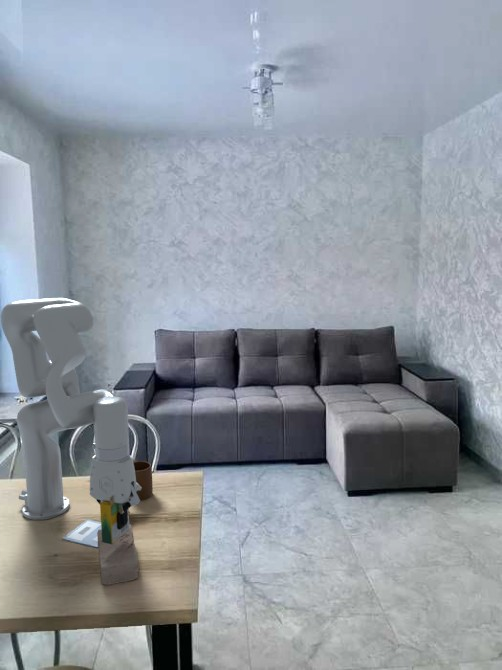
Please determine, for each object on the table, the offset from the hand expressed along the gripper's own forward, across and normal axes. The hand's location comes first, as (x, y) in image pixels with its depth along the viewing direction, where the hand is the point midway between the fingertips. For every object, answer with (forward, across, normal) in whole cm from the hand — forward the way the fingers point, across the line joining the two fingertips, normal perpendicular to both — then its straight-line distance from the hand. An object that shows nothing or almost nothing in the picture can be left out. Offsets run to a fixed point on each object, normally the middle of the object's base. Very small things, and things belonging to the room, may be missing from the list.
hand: (115, 524), depth 119 cm
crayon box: (+3, 0, 0) cm, 3 cm away
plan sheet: (+10, -12, +8) cm, 17 cm away
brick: (+10, 0, 0) cm, 10 cm away
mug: (+10, -15, +32) cm, 37 cm away
